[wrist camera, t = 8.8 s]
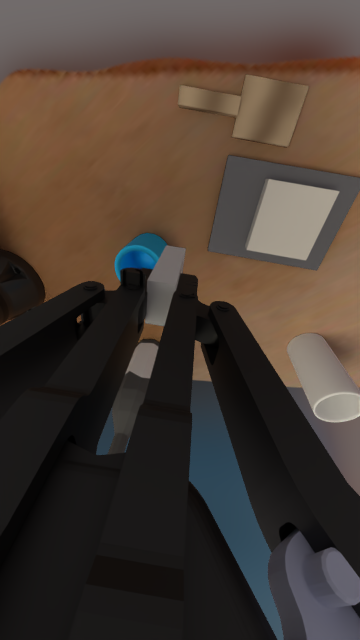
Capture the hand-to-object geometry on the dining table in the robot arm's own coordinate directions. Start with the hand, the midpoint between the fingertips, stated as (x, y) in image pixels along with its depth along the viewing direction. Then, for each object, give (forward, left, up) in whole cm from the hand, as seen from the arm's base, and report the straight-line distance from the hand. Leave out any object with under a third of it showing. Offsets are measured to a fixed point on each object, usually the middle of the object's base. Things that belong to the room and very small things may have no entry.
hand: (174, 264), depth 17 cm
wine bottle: (-5, -33, -25) cm, 42 cm away
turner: (+4, +14, -25) cm, 29 cm away
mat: (+14, +2, -25) cm, 28 cm away
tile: (+10, +2, -22) cm, 24 cm away
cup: (+31, -23, -25) cm, 46 cm away
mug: (-7, -10, -25) cm, 28 cm away
